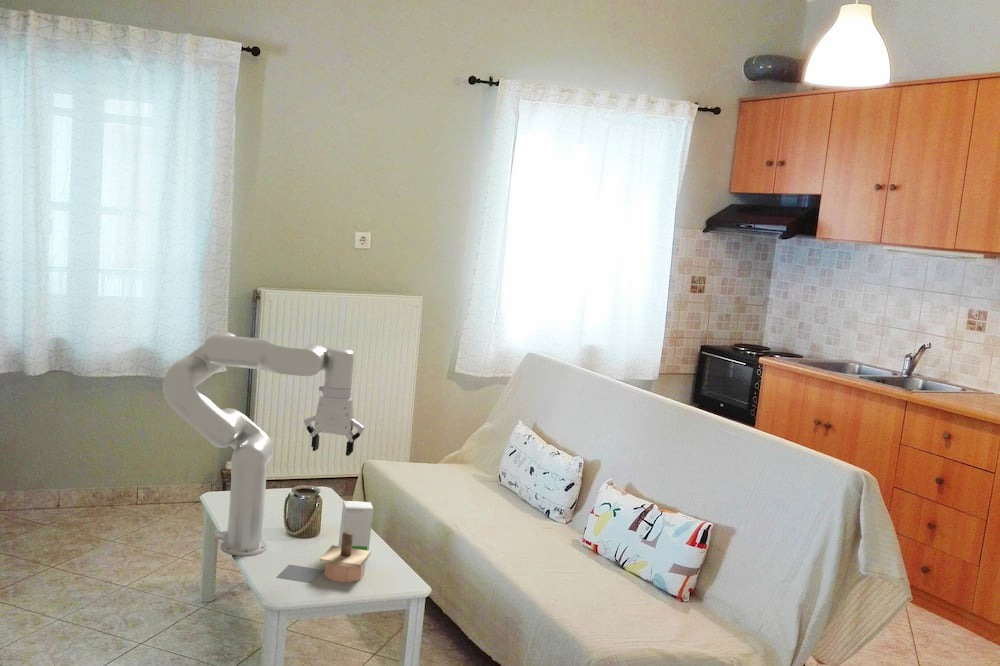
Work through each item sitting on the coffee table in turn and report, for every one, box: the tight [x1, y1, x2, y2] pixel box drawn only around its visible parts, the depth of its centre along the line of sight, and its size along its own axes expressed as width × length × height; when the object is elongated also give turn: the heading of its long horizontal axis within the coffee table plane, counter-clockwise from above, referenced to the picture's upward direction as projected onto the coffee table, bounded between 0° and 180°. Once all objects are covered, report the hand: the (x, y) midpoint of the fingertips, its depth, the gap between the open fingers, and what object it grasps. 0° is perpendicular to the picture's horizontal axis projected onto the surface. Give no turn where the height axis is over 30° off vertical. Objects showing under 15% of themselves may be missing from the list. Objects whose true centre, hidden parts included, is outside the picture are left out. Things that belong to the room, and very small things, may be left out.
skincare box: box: [337, 500, 374, 551], centre depth 274 cm, size 8×7×16 cm
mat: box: [275, 564, 325, 584], centre depth 257 cm, size 10×10×1 cm
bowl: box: [324, 560, 367, 583], centre depth 259 cm, size 10×10×5 cm
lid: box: [319, 532, 372, 568], centre depth 259 cm, size 11×11×7 cm
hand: (331, 452), depth 269 cm, fingers open, 9 cm apart
